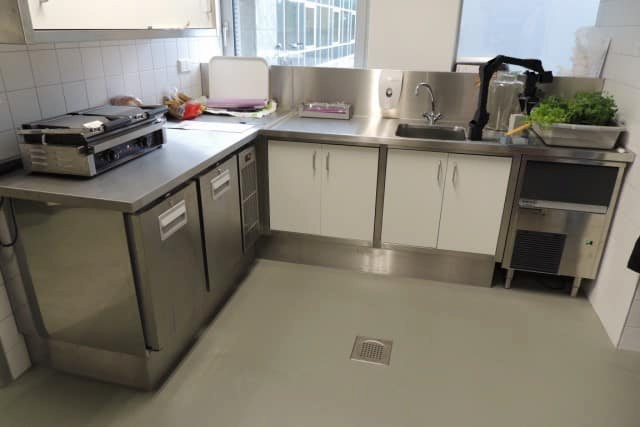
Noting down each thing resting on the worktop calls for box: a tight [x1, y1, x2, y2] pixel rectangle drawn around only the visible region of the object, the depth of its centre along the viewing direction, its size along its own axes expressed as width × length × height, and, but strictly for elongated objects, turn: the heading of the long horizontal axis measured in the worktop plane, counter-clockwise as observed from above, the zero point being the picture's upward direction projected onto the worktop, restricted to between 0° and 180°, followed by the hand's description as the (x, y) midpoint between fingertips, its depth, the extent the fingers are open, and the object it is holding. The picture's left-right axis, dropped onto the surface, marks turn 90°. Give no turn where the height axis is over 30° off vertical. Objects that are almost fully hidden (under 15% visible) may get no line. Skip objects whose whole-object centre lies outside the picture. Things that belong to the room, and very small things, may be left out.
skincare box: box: [507, 113, 526, 138], centre depth 259 cm, size 6×4×12 cm
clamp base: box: [497, 131, 538, 148], centre depth 244 cm, size 16×11×6 cm
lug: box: [527, 134, 535, 144], centre depth 241 cm, size 2×3×5 cm
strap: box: [503, 123, 531, 137], centre depth 242 cm, size 14×3×1 cm, turn 97°
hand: (525, 113), depth 250 cm, fingers open, 9 cm apart
